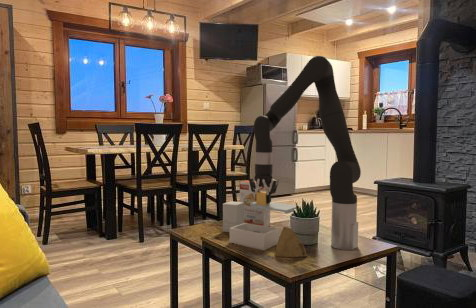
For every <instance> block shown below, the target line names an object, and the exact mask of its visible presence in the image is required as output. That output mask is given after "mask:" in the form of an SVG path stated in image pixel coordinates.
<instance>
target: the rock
mask: <svg viewBox="0 0 476 308" xmlns="http://www.w3.org/2000/svg"><path fill="white" fill-rule="evenodd" d="M275 247H276V248H275V251H274V255H273V256H274V257H275V258H276V257H282V258H300V257H301V258H303V257H307V256H308V255H307V250H306V248H305V244H304V243H303V242H302V241H301V240H300V238H299V236H298V235H297V233H296V232H294V231H293V230H292V228H291V227H288V226H283V228H282V230H281V233H280V234H279V241H278V243H277V245H275Z"/></svg>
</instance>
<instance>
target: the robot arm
mask: <svg viewBox="0 0 476 308" xmlns="http://www.w3.org/2000/svg"><path fill="white" fill-rule="evenodd" d="M334 74H335V73H334V69H333V65H332V63H331V62H330V61H329V60H328V59H327V58H326V57H325V56H323V55H315V56H313V57H312V58H311V59H309V60H308V62H307V63H306V65H304V67H303V68H302V70H301V71H300V73H298V75H297V77H296V78H295V79H294V80H293V82H292V83H291V84H290V85H289V86H288V88H286V89H285V91H284V92H283V93H282V94H281V95H280V96H278V98H277V99H276V100H275V101H274V102H273V103H272V104H271V106H269V110H268V112H267V113H266V114H264V115H258V116H257V117H256V118H255V120H254V122H253V123H254V124H253V132H254V138H255V156H254V177H250V178H248V181H249V183H250V187H251V191H252V192H254V193H255V200H256V192H260V191H261V188H262V187H264V188H265V190H266V194H267V195H266V204H269V203H270V202H272V195H274V194H276V192H277V188H278V185H279V183H280V182H279V180H278V179H274V178H273V166H274V165H273V162H274V161H273V160H274V159H273V158H274V157H273V141H272V139H271V133H270V132H271V131H273V130H274V129H275V128H276V127H277V125H278V124H279V123H280V122H281V120H282V119H283V118H284V117H285V116H286V115H287V114H288V113H289V112H290V111H291V110H292V109H293V108H294V107H295V106H296V105H297V103H299V102H298V101H299V100H300V99H301V97H302V96H303V94H304V93H305V91H306V90H308V88H309V87H310V86H311V85H312V84H314V85H315V88H316V91H317V94H318V112H319V118H320V123H321V128H322V130H323V133H324V135H325V137H326V139H328V141H329V142H330V144H331V146H332V147H333V150H334V152H335V155H336V159H337V161H336V162H334V163H333V164H332V165H331V166H330V169H329V193H330V195H331V235H330V237H331V238H330V239H331V240H330V241H331V242H330V244H331V245H330V246H331V247H332V248H335V249H338V250H343V251H345V250H348V251H354V250H355V249H356V248H358V246H359V222H358V221H357V220H358V219H357V218H358V217H357V215H358V214H357V212H358V210H357V209H358V196H357V195H356V193H354V183H357V182H358V181H359V179H360V178H361V175H362V171H361V166H360V164H359V161H358V158H357V155H356V153H355V150H354V148H353V145H352V144H353V143H352V140H351V137H350V132H349V129H348V125H347V124H348V123H347V119H346V116H345V112H344V109H343V105H342V103H341V100H340V97H339V94H338V93H337V88H336V82H335V76H334ZM255 181H256V183H257V184H256V185H255Z"/></svg>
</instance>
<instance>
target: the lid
mask: <svg viewBox="0 0 476 308" xmlns="http://www.w3.org/2000/svg"><path fill="white" fill-rule="evenodd" d="M266 195H267V194H266V192H264V191H260V192H256V202H253V203H250V205H251V207H254V208H257V209H267V210H270V211H276V212H282V213H284V214H287V215H288V214H291V213H293V212H294V211H295V210H297V209H296V205H295V204H289V203H280V202H279V203H278V202H273V201H271V202H270V203H269V204H266ZM298 206H299V207H300V205H298ZM293 209H295V210H293Z"/></svg>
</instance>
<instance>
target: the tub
mask: <svg viewBox="0 0 476 308" xmlns="http://www.w3.org/2000/svg"><path fill="white" fill-rule="evenodd" d="M279 238H280V229H279V227H274V226H273V227H272V226H269V227H267V226H261V225H255V224H249V223H243V224H240V225H237V226H234V227H231V228H230V232H229V238H228V239H229V242H228V243H229V244H232V243H234V244H233V245H236V244H238V245H237V246H241V245H242V247H247V248H251V249H256V250H260V251H266V250H268V249H270V248H272V247H274V246H275V247H276V246H277V243H278V241H279Z"/></svg>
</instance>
